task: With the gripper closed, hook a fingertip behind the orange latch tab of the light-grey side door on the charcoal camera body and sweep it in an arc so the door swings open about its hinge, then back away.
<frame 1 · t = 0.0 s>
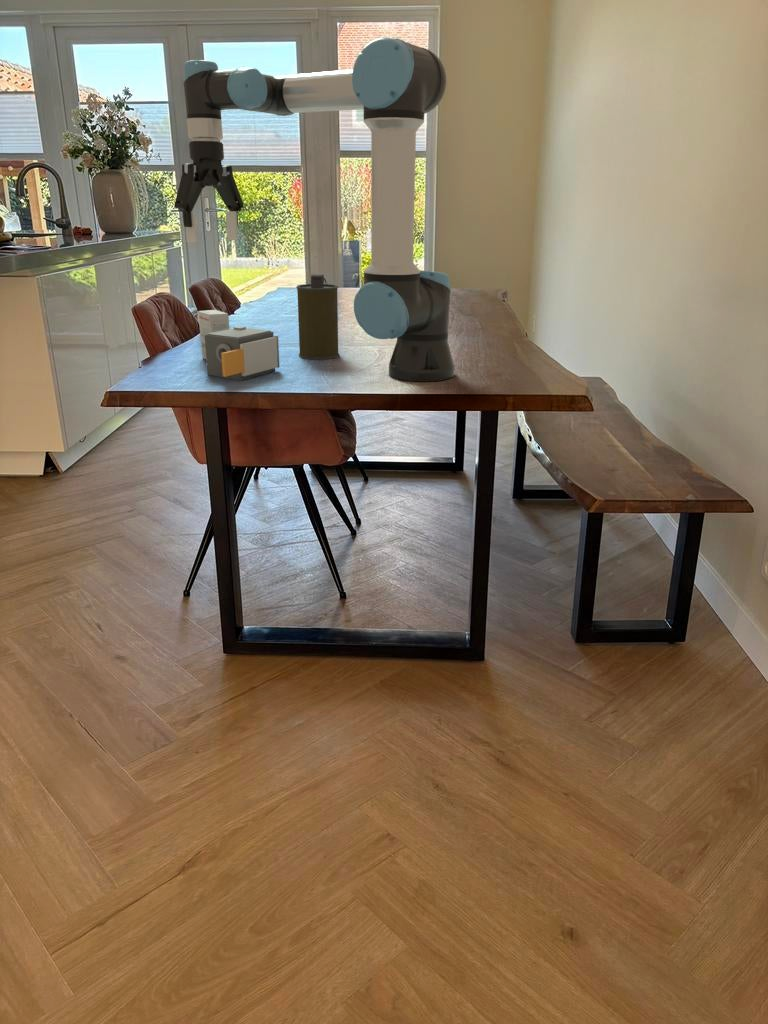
hand: (213, 241, 179), 28 cm above the table, fingers open, 13 cm apart
canister: (319, 356, 197), on the table
side door: (251, 357, 170), point 4 cm above the table, hinge at 0.0°
camera body: (241, 372, 177), on the table
ink box: (217, 361, 190), on the table
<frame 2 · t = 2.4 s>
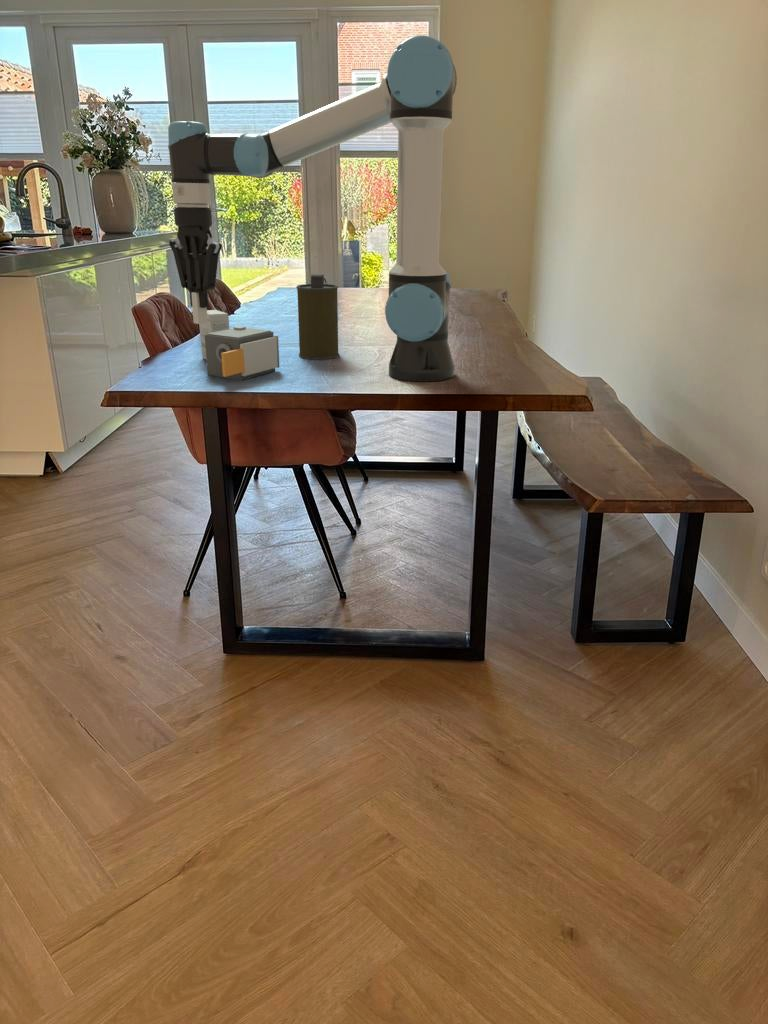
hand: (200, 322, 166), 12 cm above the table, fingers closed
nothing on the table moved.
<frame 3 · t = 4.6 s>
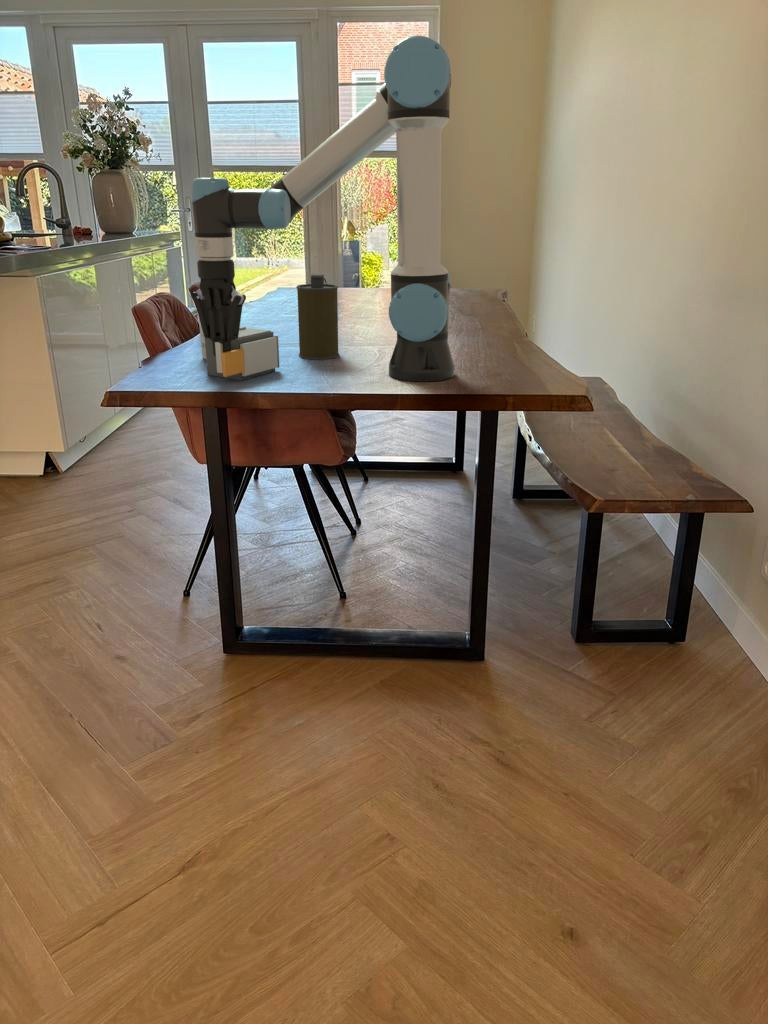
hand: (223, 371, 167), 2 cm above the table, fingers closed
side door: (252, 357, 170), point 4 cm above the table, hinge at 0.3°, touching gripper
everything else where it was.
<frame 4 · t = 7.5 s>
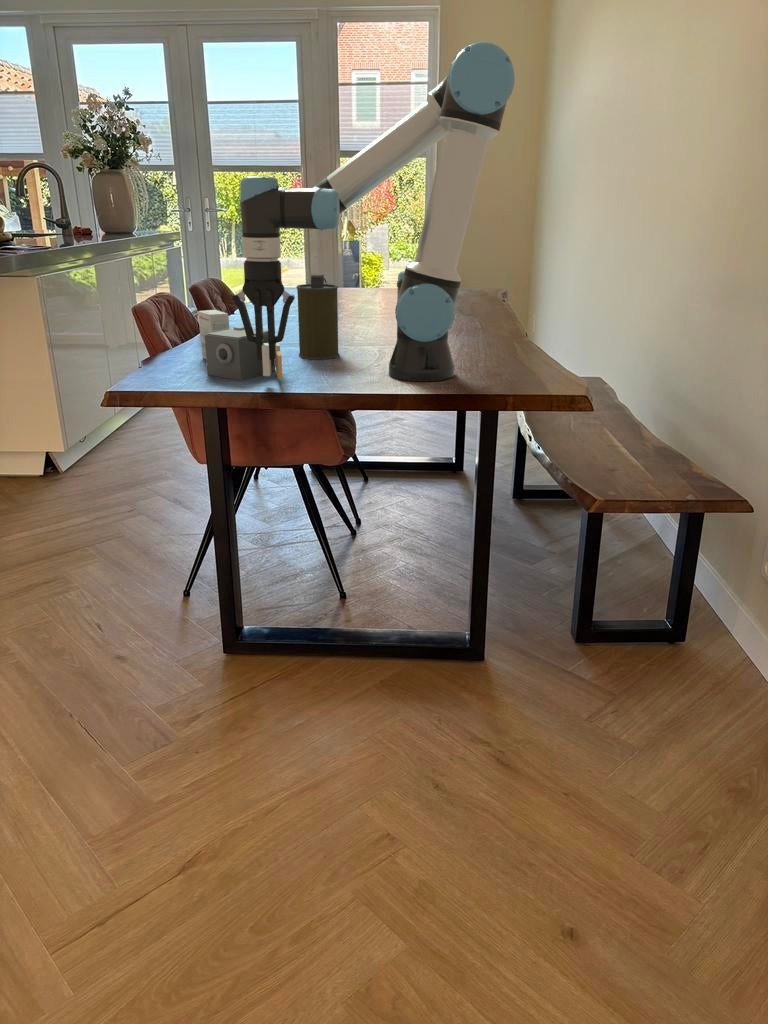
hand: (267, 374, 164), 3 cm above the table, fingers closed
side door: (278, 359, 169), point 4 cm above the table, hinge at 41.1°, touching gripper
everything else where it was.
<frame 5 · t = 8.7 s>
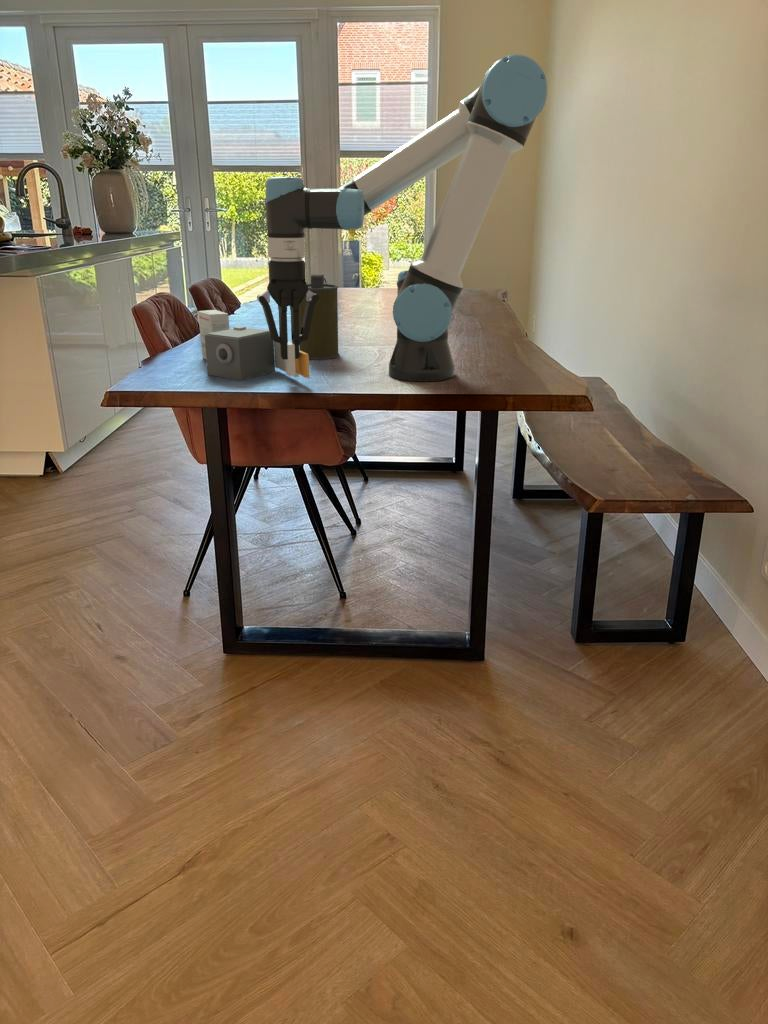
hand: (290, 374, 165), 2 cm above the table, fingers closed
side door: (290, 358, 170), point 4 cm above the table, hinge at 59.9°, touching gripper
everything else where it was.
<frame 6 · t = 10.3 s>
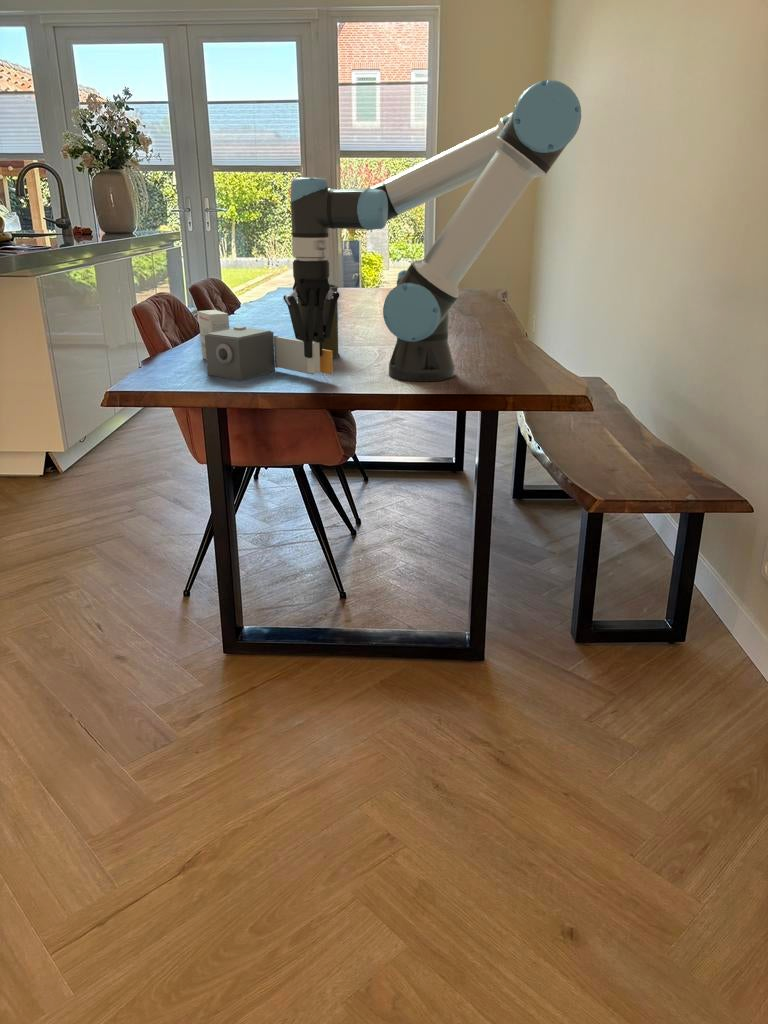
hand: (313, 371, 167), 2 cm above the table, fingers closed
side door: (302, 356, 172), point 4 cm above the table, hinge at 80.1°, touching gripper
everything else where it was.
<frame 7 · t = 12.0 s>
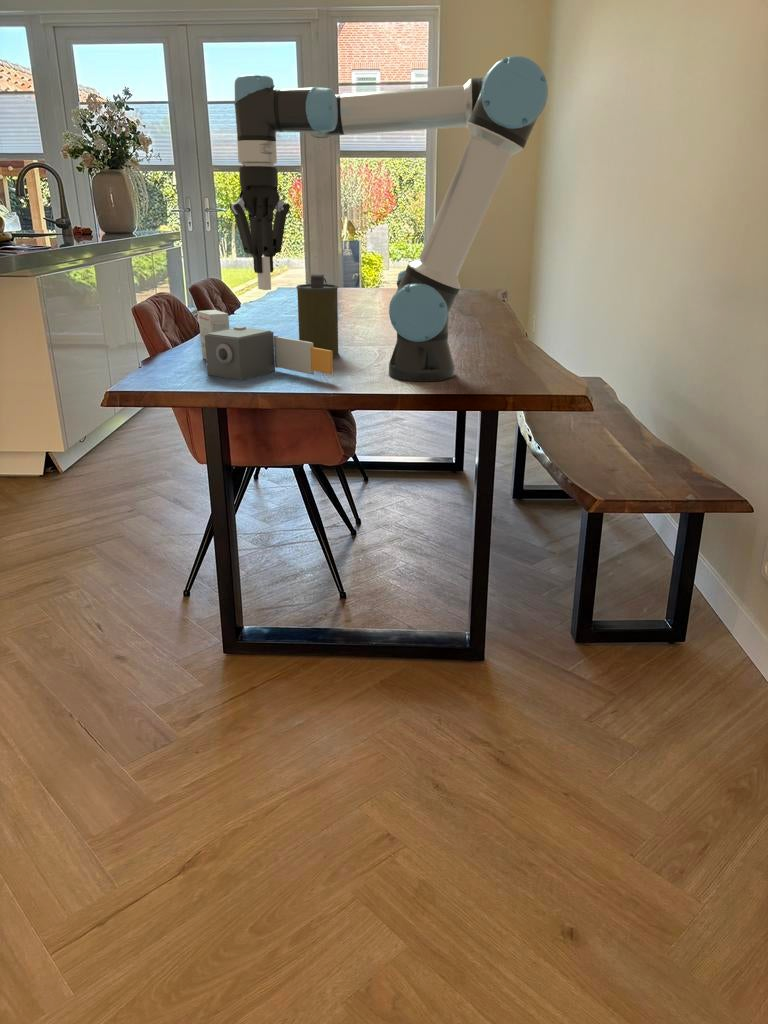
hand: (264, 289, 160), 20 cm above the table, fingers closed
side door: (302, 356, 172), point 5 cm above the table, hinge at 80.1°
everything else where it was.
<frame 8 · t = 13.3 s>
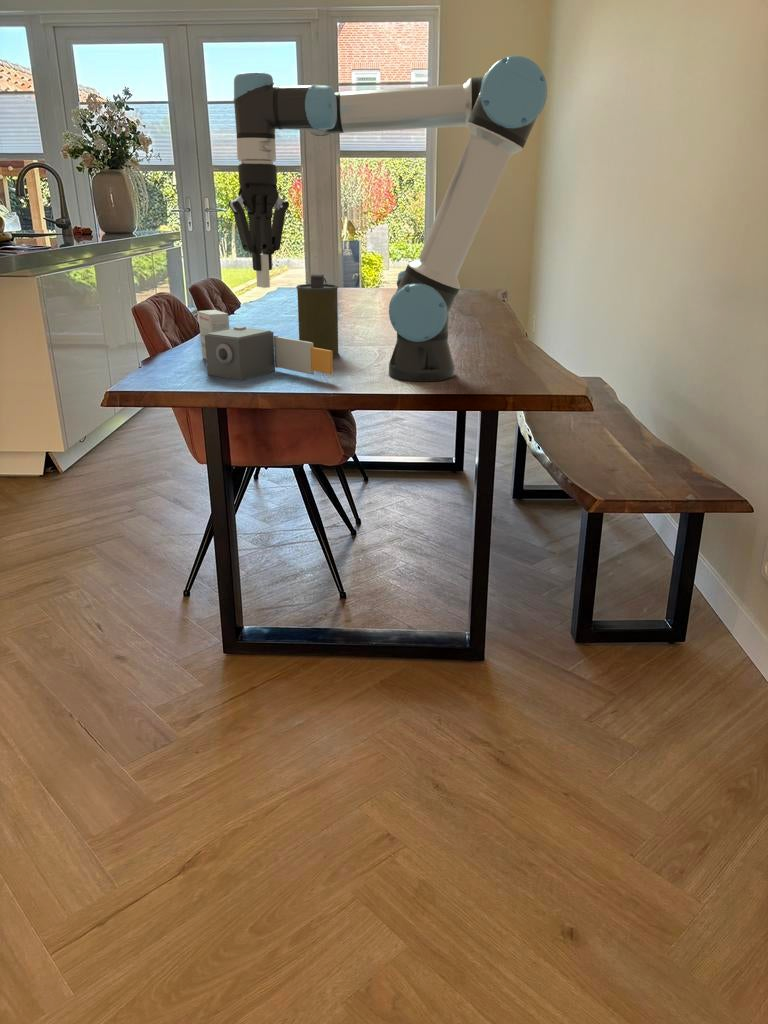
hand: (263, 286, 160), 20 cm above the table, fingers closed
nothing on the table moved.
at the end: side door at +80° (first picture: +0°) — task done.
